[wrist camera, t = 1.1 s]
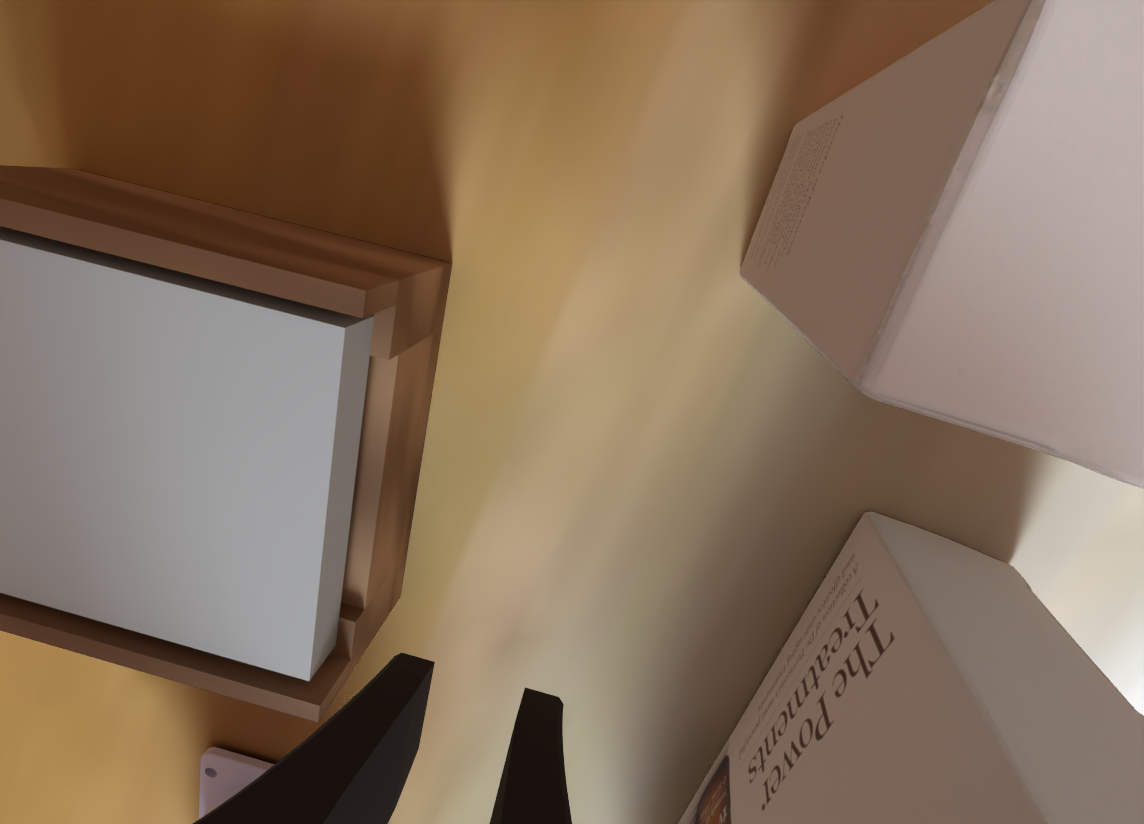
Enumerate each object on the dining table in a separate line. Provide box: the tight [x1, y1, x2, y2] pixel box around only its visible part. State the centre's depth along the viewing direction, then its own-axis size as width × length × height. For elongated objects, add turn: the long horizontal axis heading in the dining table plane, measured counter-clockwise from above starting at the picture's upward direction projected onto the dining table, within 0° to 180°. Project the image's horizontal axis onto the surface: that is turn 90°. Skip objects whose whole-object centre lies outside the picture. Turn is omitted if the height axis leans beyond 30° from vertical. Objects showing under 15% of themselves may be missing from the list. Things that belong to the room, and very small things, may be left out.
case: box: [0, 166, 452, 722], centre depth 18 cm, size 12×12×6 cm
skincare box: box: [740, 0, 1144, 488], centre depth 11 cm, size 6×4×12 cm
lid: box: [0, 226, 374, 681], centre depth 17 cm, size 10×10×2 cm
